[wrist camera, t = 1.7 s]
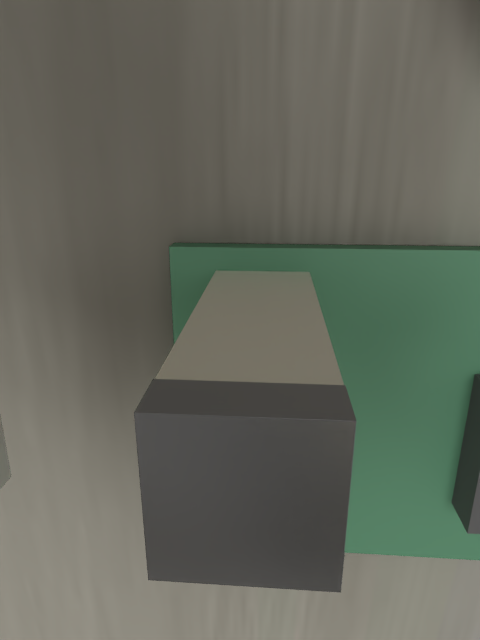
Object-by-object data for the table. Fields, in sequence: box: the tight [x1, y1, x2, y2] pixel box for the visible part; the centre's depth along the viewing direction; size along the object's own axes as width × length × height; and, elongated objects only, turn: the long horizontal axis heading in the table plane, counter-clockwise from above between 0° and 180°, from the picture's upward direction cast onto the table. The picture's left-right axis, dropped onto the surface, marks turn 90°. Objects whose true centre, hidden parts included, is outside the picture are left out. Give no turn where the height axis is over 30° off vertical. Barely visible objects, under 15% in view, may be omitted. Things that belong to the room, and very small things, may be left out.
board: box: [169, 243, 480, 560], centre depth 21 cm, size 16×24×3 cm, turn 90°
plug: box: [134, 270, 357, 592], centre depth 15 cm, size 4×4×12 cm
